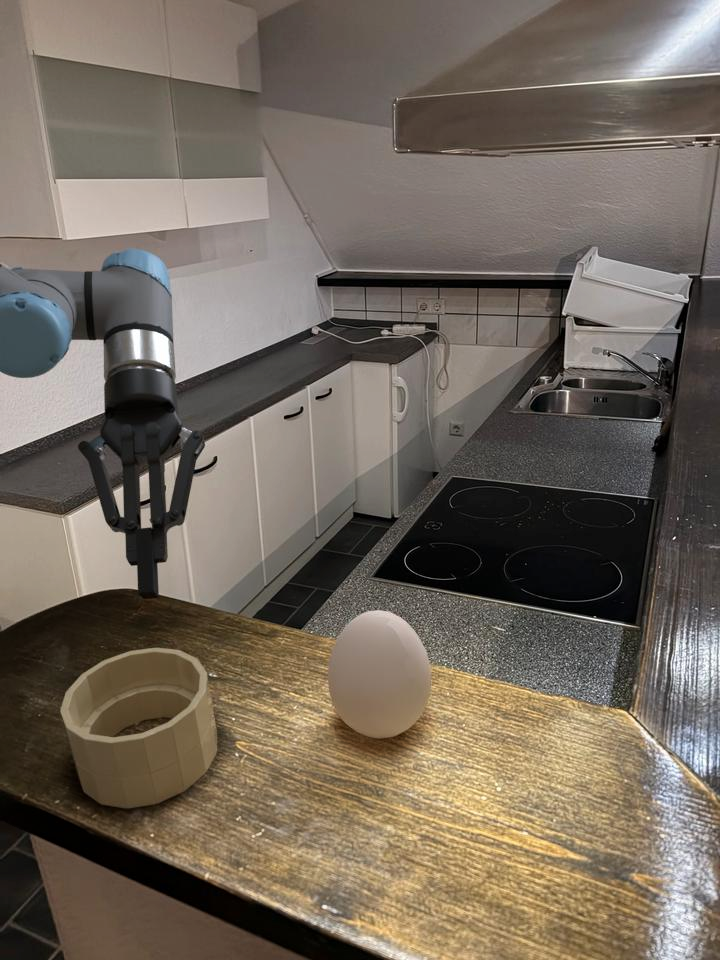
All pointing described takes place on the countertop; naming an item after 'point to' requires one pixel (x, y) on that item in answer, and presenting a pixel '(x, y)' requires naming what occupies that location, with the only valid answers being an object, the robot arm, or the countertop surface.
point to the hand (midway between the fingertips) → (148, 595)
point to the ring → (128, 700)
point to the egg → (379, 675)
